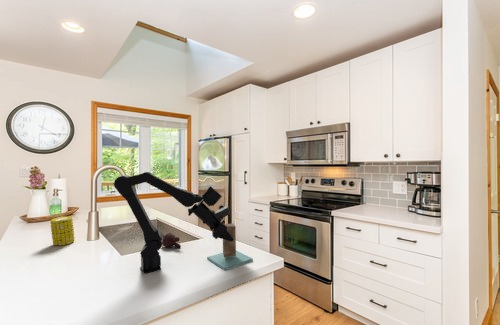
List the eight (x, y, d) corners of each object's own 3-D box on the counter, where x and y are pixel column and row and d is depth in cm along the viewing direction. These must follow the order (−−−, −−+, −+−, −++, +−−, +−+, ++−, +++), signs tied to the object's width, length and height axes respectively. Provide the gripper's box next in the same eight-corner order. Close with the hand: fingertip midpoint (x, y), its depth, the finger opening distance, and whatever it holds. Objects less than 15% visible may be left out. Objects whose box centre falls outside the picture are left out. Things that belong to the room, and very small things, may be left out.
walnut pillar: (224, 257, 105) (223, 227, 105) (222, 252, 110) (222, 224, 110) (236, 256, 106) (235, 226, 106) (234, 251, 111) (233, 223, 111)
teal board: (224, 270, 98) (224, 267, 98) (207, 259, 110) (207, 257, 110) (252, 260, 107) (252, 258, 107) (234, 251, 118) (234, 249, 118)
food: (78, 243, 140) (61, 251, 130) (60, 238, 141) (42, 245, 131) (81, 217, 138) (65, 222, 128) (63, 211, 140) (45, 217, 130)
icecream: (151, 234, 127) (173, 241, 120) (162, 227, 133) (184, 233, 126) (153, 246, 128) (175, 253, 121) (164, 238, 135) (185, 245, 128)
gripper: (220, 204, 98) (249, 230, 100) (217, 197, 116) (241, 219, 119) (200, 225, 97) (229, 252, 99) (200, 215, 115) (225, 237, 117)
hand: (232, 238), depth 108 cm, fingers closed on walnut pillar, 5 cm apart
